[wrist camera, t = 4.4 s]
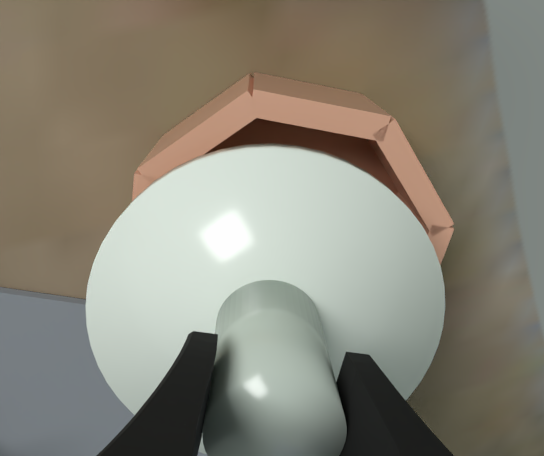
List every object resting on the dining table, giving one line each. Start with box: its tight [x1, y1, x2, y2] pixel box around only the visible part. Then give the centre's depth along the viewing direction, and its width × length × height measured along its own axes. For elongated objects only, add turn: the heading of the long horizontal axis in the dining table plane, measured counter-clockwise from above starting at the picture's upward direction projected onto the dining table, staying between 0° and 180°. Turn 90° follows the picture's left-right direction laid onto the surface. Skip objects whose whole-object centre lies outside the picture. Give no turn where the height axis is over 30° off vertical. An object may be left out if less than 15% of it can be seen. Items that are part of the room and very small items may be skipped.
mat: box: [0, 287, 208, 456], centre depth 24 cm, size 12×12×1 cm
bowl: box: [132, 72, 454, 265], centre depth 18 cm, size 11×11×4 cm
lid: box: [85, 143, 445, 456], centre depth 13 cm, size 11×11×5 cm
